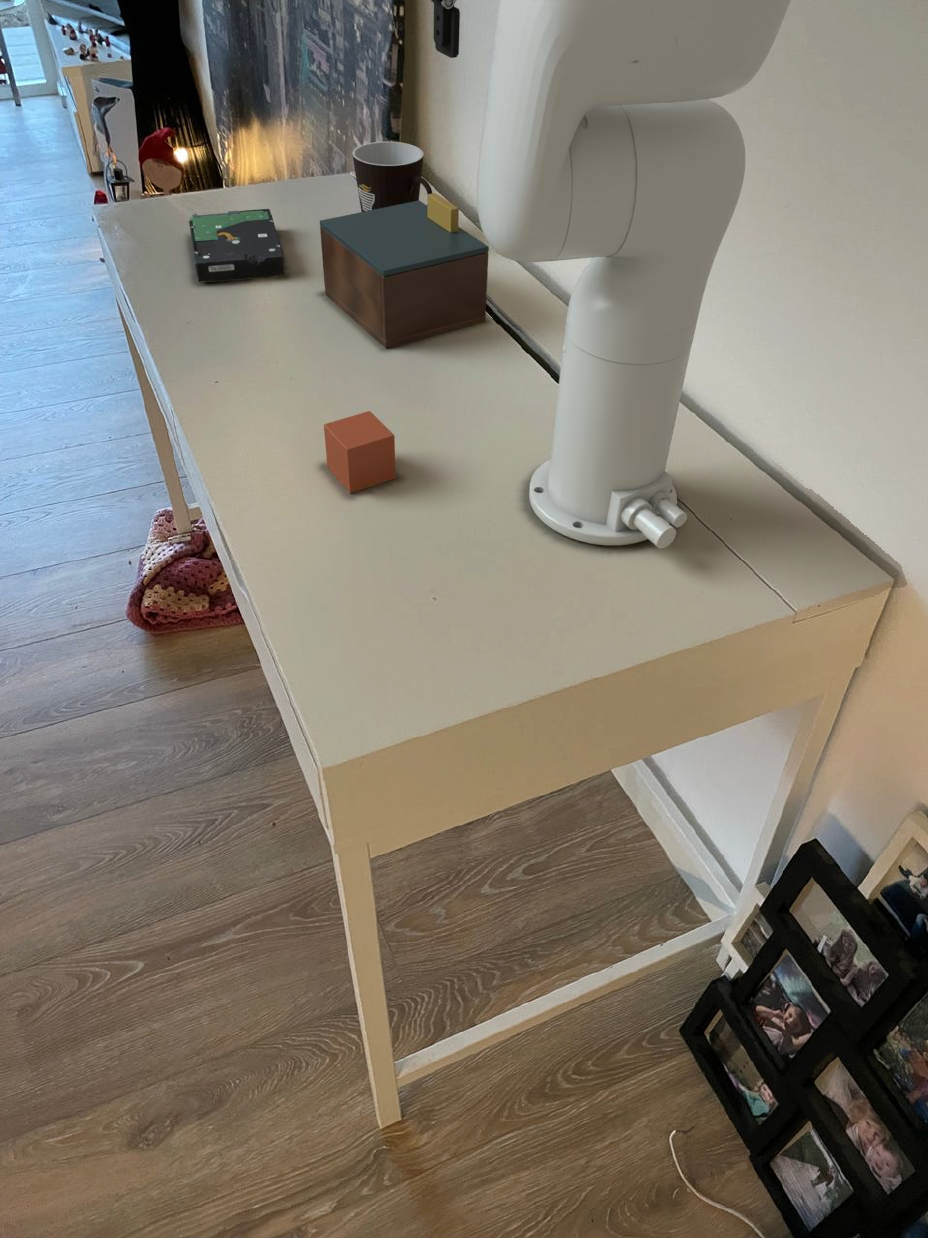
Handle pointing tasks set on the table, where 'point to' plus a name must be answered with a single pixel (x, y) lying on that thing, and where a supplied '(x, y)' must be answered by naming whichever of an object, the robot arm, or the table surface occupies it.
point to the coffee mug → (388, 174)
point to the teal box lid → (406, 235)
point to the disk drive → (236, 246)
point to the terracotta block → (360, 451)
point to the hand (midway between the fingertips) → (489, 47)
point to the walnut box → (405, 294)
